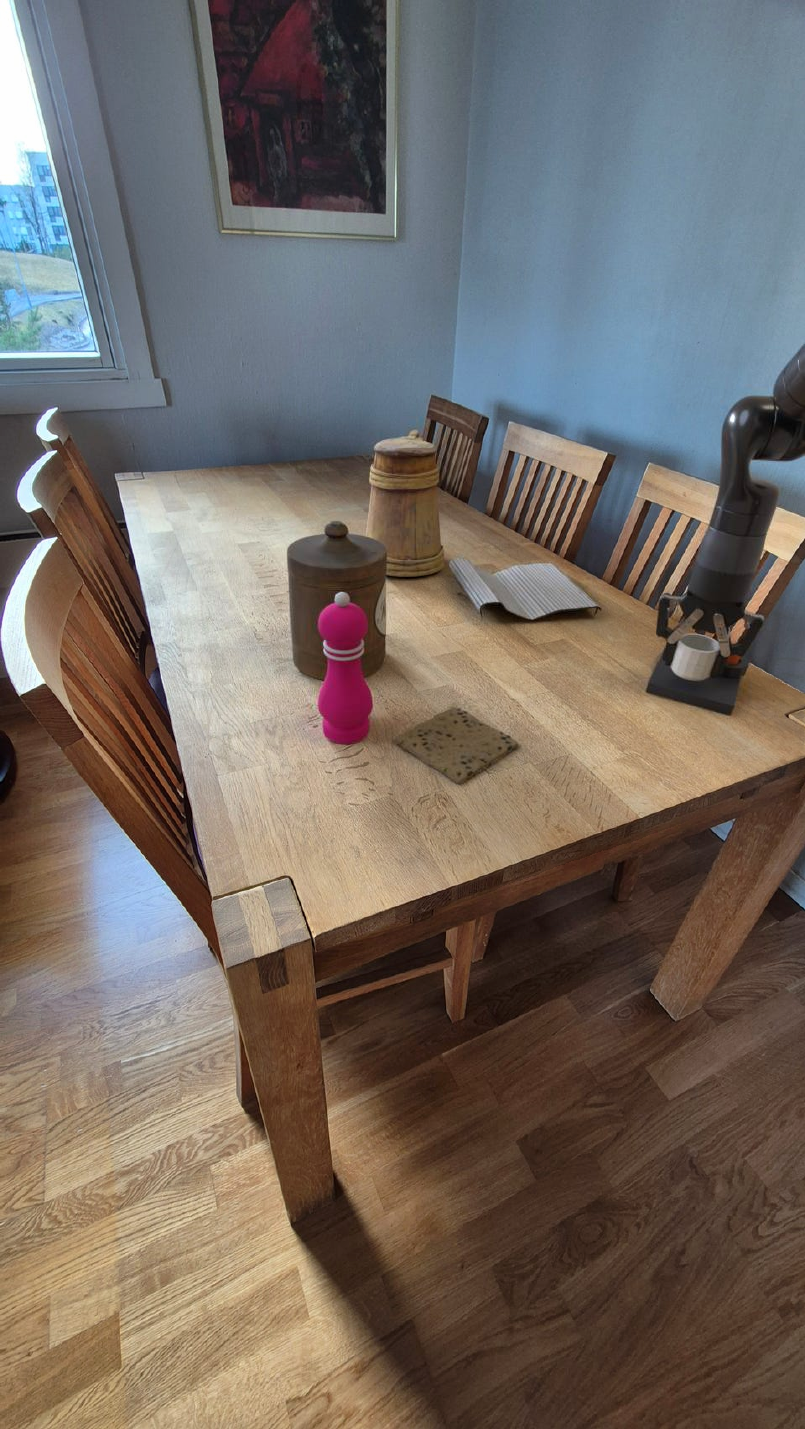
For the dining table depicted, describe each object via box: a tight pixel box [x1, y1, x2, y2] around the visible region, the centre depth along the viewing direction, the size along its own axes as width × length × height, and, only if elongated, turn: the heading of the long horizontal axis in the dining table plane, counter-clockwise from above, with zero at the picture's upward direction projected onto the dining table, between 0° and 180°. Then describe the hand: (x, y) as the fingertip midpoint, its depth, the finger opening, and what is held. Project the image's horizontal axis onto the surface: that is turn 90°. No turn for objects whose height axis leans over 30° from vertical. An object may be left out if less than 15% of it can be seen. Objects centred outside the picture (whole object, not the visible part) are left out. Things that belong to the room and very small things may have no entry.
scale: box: [645, 647, 750, 716], centre depth 96 cm, size 12×14×4 cm
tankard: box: [365, 429, 445, 578], centre depth 131 cm, size 18×24×25 cm
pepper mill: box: [317, 592, 374, 745], centre depth 79 cm, size 7×7×20 cm
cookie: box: [393, 706, 519, 785], centre depth 82 cm, size 12×12×1 cm
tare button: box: [727, 655, 741, 664], centre depth 97 cm, size 3×3×2 cm
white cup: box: [670, 632, 720, 681], centre depth 93 cm, size 6×6×5 cm
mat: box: [448, 557, 603, 621], centre depth 122 cm, size 23×24×5 cm
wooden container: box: [286, 520, 387, 681], centre depth 95 cm, size 15×15×22 cm
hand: (690, 668), depth 94 cm, fingers closed on white cup, 6 cm apart
